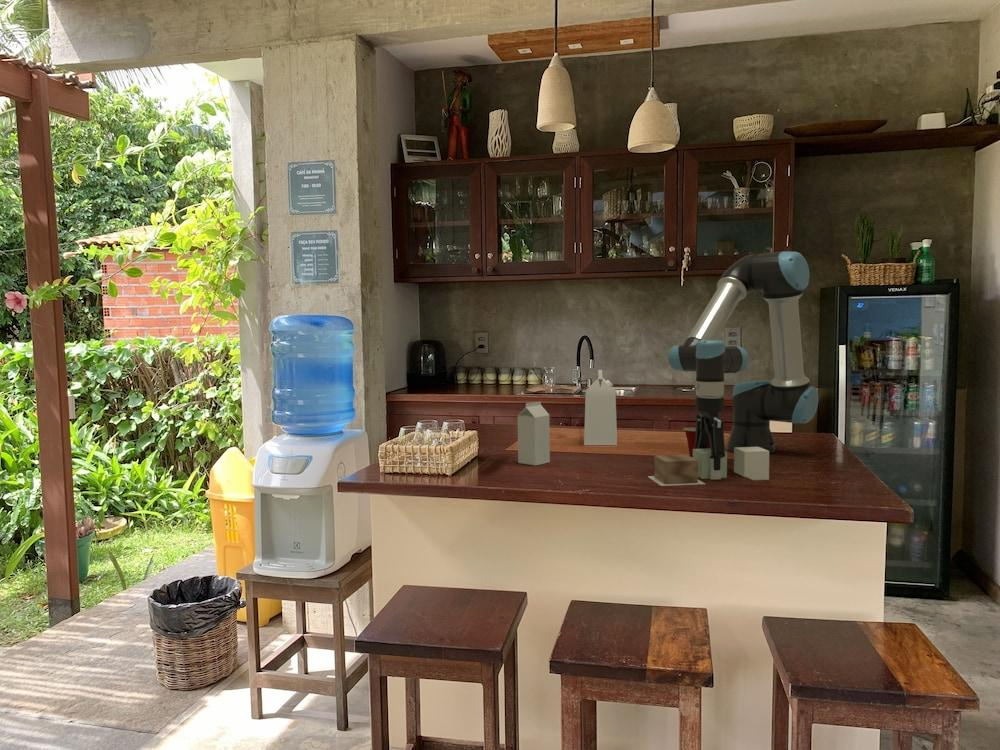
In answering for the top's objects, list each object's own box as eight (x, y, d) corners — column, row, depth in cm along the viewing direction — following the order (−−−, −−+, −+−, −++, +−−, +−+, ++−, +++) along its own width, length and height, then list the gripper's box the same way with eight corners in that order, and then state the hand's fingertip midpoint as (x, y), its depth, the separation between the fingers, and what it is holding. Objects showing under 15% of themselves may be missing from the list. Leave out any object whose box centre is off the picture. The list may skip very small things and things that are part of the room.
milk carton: (550, 462, 239) (549, 402, 237) (535, 466, 234) (534, 404, 232) (532, 460, 244) (532, 400, 242) (517, 463, 238) (517, 402, 237)
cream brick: (757, 474, 217) (757, 446, 216) (769, 479, 210) (769, 450, 209) (733, 475, 216) (734, 447, 215) (744, 480, 209) (744, 451, 208)
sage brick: (716, 476, 215) (716, 448, 215) (726, 481, 208) (727, 452, 208) (692, 477, 215) (692, 448, 214) (701, 482, 208) (702, 453, 207)
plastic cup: (721, 464, 231) (722, 425, 230) (719, 471, 221) (720, 430, 220) (685, 463, 235) (685, 424, 234) (681, 469, 225) (681, 429, 224)
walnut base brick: (686, 475, 211) (686, 454, 211) (698, 482, 202) (698, 460, 202) (654, 477, 210) (654, 455, 210) (664, 484, 201) (664, 461, 201)
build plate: (689, 478, 213) (689, 474, 213) (705, 487, 201) (705, 483, 201) (647, 479, 212) (647, 476, 212) (661, 489, 200) (661, 485, 200)
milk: (584, 440, 280) (584, 369, 278) (616, 440, 279) (616, 369, 277) (584, 446, 268) (583, 372, 266) (617, 446, 267) (616, 371, 265)
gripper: (683, 393, 220) (682, 471, 222) (711, 401, 199) (710, 487, 201) (708, 392, 221) (707, 470, 222) (739, 400, 200) (738, 486, 201)
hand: (709, 478), depth 211 cm, fingers open, 8 cm apart
